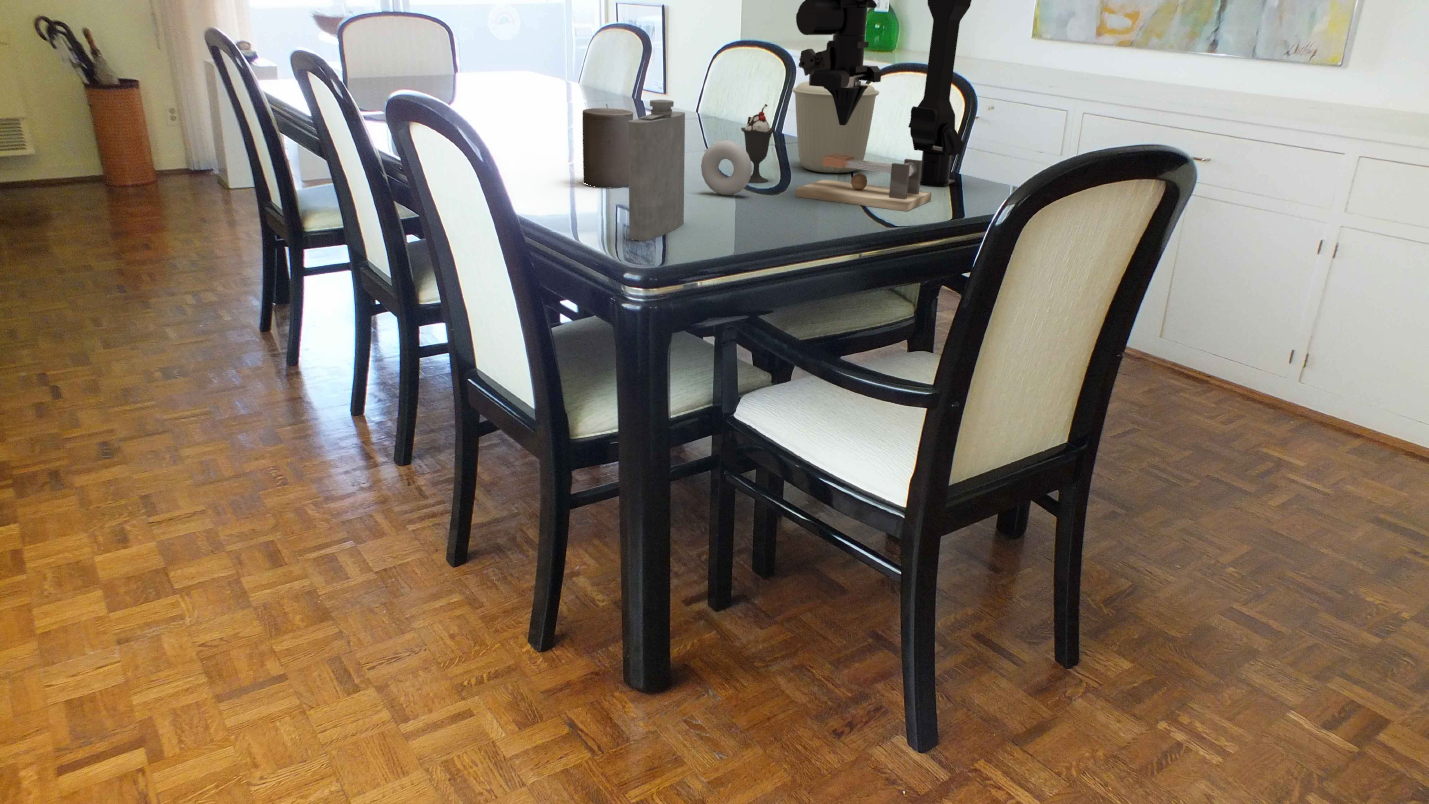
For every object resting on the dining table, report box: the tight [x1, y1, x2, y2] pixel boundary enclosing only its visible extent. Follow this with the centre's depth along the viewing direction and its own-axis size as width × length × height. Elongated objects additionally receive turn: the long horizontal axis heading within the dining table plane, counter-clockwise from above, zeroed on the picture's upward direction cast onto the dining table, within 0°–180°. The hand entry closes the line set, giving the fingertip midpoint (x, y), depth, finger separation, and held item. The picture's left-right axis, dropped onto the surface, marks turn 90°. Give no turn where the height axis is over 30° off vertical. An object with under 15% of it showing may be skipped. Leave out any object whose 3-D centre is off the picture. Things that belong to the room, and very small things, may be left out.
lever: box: [822, 154, 917, 177], centre depth 190 cm, size 5×17×2 cm, turn 59°
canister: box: [791, 80, 880, 174], centre depth 218 cm, size 18×18×21 cm
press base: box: [795, 158, 932, 212], centre depth 191 cm, size 12×22×8 cm, turn 59°
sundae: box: [740, 103, 776, 184], centre depth 205 cm, size 7×7×15 cm
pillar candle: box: [582, 103, 634, 189], centre depth 198 cm, size 10×10×15 cm
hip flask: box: [628, 99, 686, 242], centre depth 160 cm, size 16×4×20 cm, turn 158°
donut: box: [700, 139, 753, 196], centre depth 191 cm, size 10×4×10 cm, turn 65°
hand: (842, 125), depth 190 cm, fingers closed
